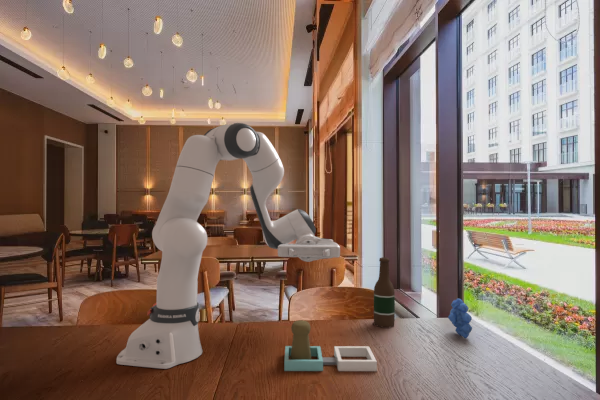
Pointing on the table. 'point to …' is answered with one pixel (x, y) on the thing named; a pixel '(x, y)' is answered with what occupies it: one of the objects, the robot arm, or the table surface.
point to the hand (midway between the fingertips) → (309, 253)
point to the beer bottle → (384, 297)
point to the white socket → (352, 364)
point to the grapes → (460, 318)
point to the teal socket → (304, 361)
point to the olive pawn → (300, 341)
